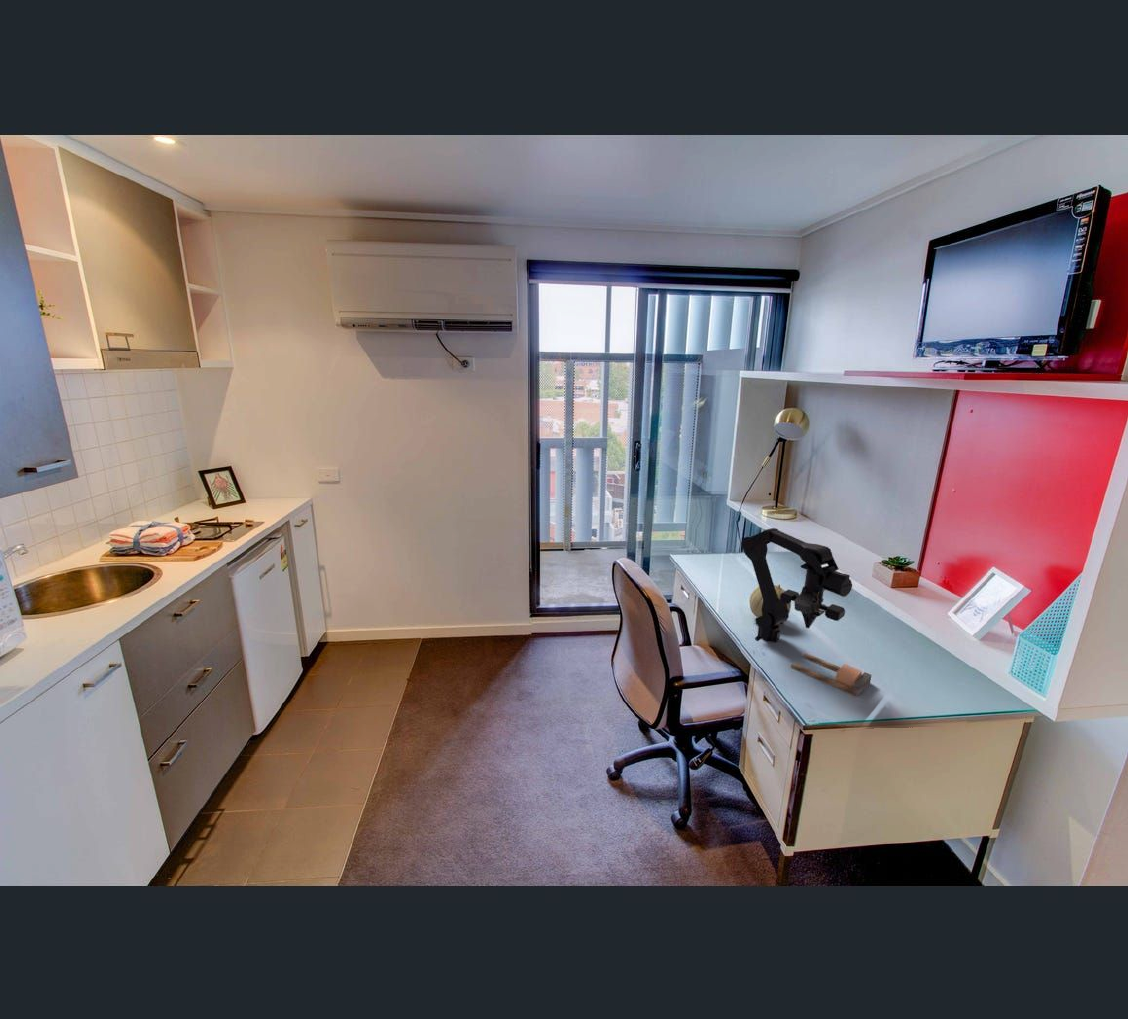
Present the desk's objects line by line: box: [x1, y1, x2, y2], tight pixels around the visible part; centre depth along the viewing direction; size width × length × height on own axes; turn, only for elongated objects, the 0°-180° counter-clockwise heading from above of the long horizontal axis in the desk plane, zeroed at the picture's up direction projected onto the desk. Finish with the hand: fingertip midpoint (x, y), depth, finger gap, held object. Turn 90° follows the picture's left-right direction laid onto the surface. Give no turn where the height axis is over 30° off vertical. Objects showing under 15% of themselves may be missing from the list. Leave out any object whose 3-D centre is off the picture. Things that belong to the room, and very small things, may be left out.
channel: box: [790, 652, 872, 697], centre depth 156 cm, size 20×10×4 cm, turn 41°
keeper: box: [834, 663, 863, 688], centre depth 152 cm, size 5×6×4 cm
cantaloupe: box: [749, 584, 792, 618], centre depth 190 cm, size 15×15×15 cm
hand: (807, 627), depth 163 cm, fingers closed
